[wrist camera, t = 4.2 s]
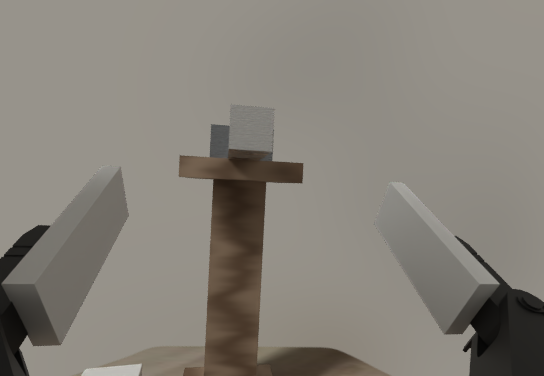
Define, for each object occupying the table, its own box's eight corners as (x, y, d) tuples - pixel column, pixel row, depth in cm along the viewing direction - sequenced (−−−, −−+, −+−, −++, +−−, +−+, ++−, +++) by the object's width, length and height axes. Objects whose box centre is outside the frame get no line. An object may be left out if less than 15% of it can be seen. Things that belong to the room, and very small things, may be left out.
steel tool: (198, 146, 20) (201, 86, 19) (212, 163, 38) (213, 133, 38) (300, 153, 21) (303, 96, 21) (265, 167, 39) (266, 137, 39)
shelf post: (165, 469, 28) (179, 155, 28) (184, 378, 41) (194, 163, 40) (287, 457, 30) (303, 163, 29) (269, 374, 43) (280, 168, 42)
